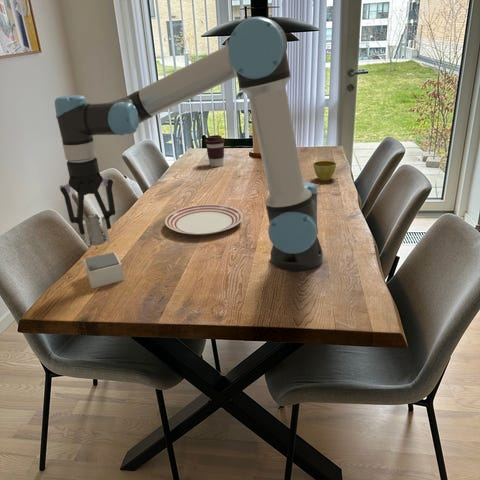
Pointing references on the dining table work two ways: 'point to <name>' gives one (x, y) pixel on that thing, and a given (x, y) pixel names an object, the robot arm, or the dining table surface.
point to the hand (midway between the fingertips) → (97, 241)
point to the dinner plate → (203, 219)
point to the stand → (103, 270)
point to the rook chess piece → (95, 231)
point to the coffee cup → (215, 150)
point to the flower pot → (324, 169)
